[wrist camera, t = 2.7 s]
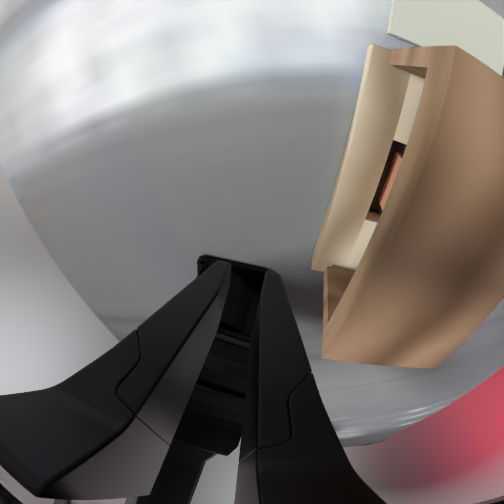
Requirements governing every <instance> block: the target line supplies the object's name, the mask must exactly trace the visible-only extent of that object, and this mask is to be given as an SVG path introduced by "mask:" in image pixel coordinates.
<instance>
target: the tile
mask: <svg viewBox="0 0 504 504" xmlns="http://www.w3.org/2000/svg"><path fill="white" fill-rule="evenodd" d="M387 34H389V35H391V36H394V37H397V38H399V39H402V40H404V41H407V42H409V43H411V44H413V45H416V46H418V47H425V46H458V47H459V48H461V49H463V50H464V51H466V52H467V53H469V54H471V55H472V56H474V57H475V58H477V59H478V60H480V61H481V62H483V63H484V64H486V65H487V66H488V67H490V68H491V69H493V70H494V71H495V72H497V73H498V74H499V75H501V76H502V73H503V67H504V19H503V18H501V17H500V16H499V15H497V14H496V13H495V12H494V11H492V10H491V9H490V8H488V7H487V6H485V5H484V4H483V3H481V2H480V1H478V0H391V8H390V15H389V22H388V28H387Z"/></svg>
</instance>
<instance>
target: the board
mask: <svg viewBox="0 0 504 504" xmlns="http://www.w3.org/2000/svg"><path fill="white" fill-rule="evenodd" d="M391 53H392V50H389V49H386V48H384V47H381V46H378V45H375V44H372V45H369V46H368V50H367V55H366V60H365V65H364V70H363V75H362V80H361V84H360V89H359V93H358V98H357V102H356V107H355V111H354V115H353V119H352V123H351V127H350V131H349V135H348V139H347V143H346V147H345V150H344V154H343V158H342V161H341V165H340V169H339V172H338V176H337V179H336V183H335V186H334V189H333V193H332V196H331V199H330V203H329V206H328V209H327V212H326V216H325V219H324V222H323V225H322V228H321V231H320V234H319V237H318V241H317V244H316V247H315V250H314V253H313V255H312V270H317V271H322V272H325V270H326V268H327V266H329V267H333V268H338V269H343V270H347V271H352V272H355V271H356V269H357V267H358V264H359V262H360V260H361V258H362V256H363V254H364V252H365V250H366V248H367V245H368V243H369V241H370V239H371V237H372V234H373V232H374V230H375V227H376V225H377V223H378V220H379V218H380V216H381V214H379V213H376V212H372V211H369V208H370V205H371V203H372V200H373V197H374V195H375V192H376V189H377V187H378V184H379V181H380V178H381V175H382V172H383V169H384V167H385V164H386V161H387V158H388V154H389V151H390V148H391V145H392V142H393V140H395V141H398V142H400V143H403V144H406V145H407V143H408V140H409V136H410V133H411V130H412V127H413V123H414V120H415V116H416V113H417V109H418V105H419V102H420V98H421V94H422V90H423V85H424V81H425V79H423V78H421V77H418V76H416V75H414V74H411V73H409V72H407V71H404V70H402V69H399V68H397V67H394V66H391V65H389V63H390V58H391Z"/></svg>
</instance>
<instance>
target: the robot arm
mask: <svg viewBox="0 0 504 504" xmlns="http://www.w3.org/2000/svg"><path fill="white" fill-rule="evenodd" d="M203 261H204V262H203ZM197 268H198V275H197V277H196V279H195V280H194V281H192V282H191V283H190V284H189V285H187V286H186V287H185V288H184V289H183V290H181V291H180V292H179V293H178V294H177V295H175V296H174V297H173V298H172V299H171V300H169V301H168V302H167V303H166V304H165V305H163V306H162V307H161V308H160V309H159V310H158V311H156V312H155V313H154V314H153V315H152V316H150V317H149V318H148V319H147V320H146V321H144V322H143V323H142V324H141V325H140V326H139V327H137V330H134V331H132V332H131V333H130V334H129V335H128V336H127V337H125V338H124V339H123V340H122V341H120V342H119V343H118V344H117V345H115V346H114V347H113V348H112V349H110V350H109V351H108V352H106V353H105V354H103V355H102V356H100V357H99V358H98V359H96V360H95V361H93V362H92V363H90V364H89V365H87V366H86V367H84V368H83V369H81V370H80V371H78V372H77V373H75V374H74V375H72V376H71V377H69V378H68V379H66V380H65V381H63V382H61V383H59V384H58V385H55V386H53V387H50V388H47V389H43V390H38V391H31V392H24V393H17V394H9V395H0V504H125V501H126V498H129V497H135V500H134V503H133V504H190V502H191V499H192V496H193V494H194V491H195V489H196V486H197V483H198V481H199V478H200V475H201V473H202V470H203V467H204V465H205V462H206V461H207V460H209V459H210V458H212V457H213V456H215V455H216V454H221V455H225V456H227V455H229V454H230V453H231V452H232V451H233V450H234V449H236V447H237V446H238V444H239V441H240V438H241V446H240V456H239V465H238V475H237V484H236V494H235V503H234V504H387V503H386V502H385V501H384V500H383V499H381V498H380V497H379V496H378V495H377V494H376V493H375V492H374V491H373V490H372V489H371V488H370V487H369V486H368V485H367V484H366V483H365V482H364V481H363V480H362V479H361V478H360V477H359V475H358V474H357V473H356V471H355V470H354V469H353V467H352V465H351V464H350V462H349V460H348V458H347V456H346V453H345V451H344V449H343V447H342V445H341V443H340V440H339V438H338V436H337V434H336V432H335V430H334V428H333V425H332V423H331V421H330V419H329V417H328V414H327V412H326V409H325V407H324V405H323V402H322V400H321V397H320V394H319V391H318V388H317V385H316V382H315V379H314V376H313V373H311V372H312V370H311V367H310V364H309V361H308V357H307V354H306V351H305V348H304V345H303V342H302V339H301V336H300V333H299V330H298V327H297V324H296V321H295V318H294V315H293V312H292V309H291V306H290V303H289V300H288V297H287V294H286V291H285V288H284V285H283V282H282V279H281V276H280V274H278V273H274V272H269V271H267V270H266V269H263V268H258V267H253V266H249V265H244V264H239V263H235V262H230V261H226V260H221V259H216V258H212V257H207V256H200V257H199V258H198V261H197ZM262 274H264V275H262ZM475 504H504V496H501V497H498V498H495V499H491V500H487V501H483V502H480V503H475Z"/></svg>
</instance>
